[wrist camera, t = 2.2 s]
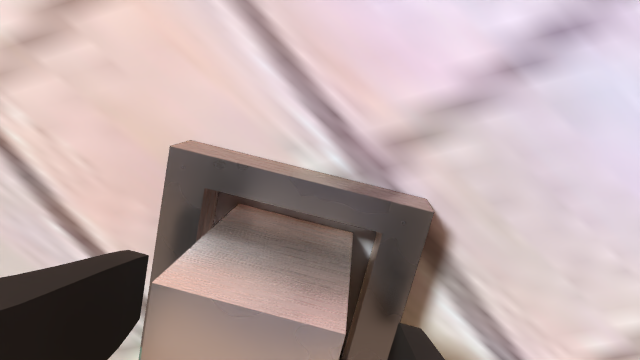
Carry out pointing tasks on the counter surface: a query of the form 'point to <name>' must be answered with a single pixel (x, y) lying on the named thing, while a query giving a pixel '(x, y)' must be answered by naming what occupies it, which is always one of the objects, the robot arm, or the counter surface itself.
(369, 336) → the grey teal tray
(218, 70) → the counter surface
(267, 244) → the beige rectangular block
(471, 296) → the counter surface
